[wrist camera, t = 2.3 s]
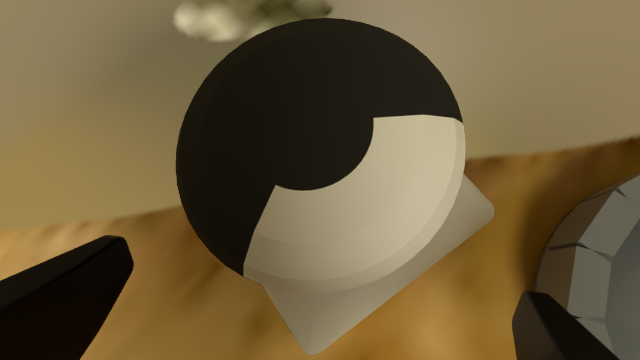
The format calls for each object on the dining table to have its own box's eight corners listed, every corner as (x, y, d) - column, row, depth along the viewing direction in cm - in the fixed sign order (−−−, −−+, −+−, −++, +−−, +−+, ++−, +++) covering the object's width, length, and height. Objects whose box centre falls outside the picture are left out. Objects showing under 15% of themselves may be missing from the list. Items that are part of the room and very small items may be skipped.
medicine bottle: (253, 212, 19) (75, 105, 8) (361, 133, 19) (344, -82, 8) (333, 331, 17) (251, 431, 5) (452, 239, 17) (608, 153, 6)
